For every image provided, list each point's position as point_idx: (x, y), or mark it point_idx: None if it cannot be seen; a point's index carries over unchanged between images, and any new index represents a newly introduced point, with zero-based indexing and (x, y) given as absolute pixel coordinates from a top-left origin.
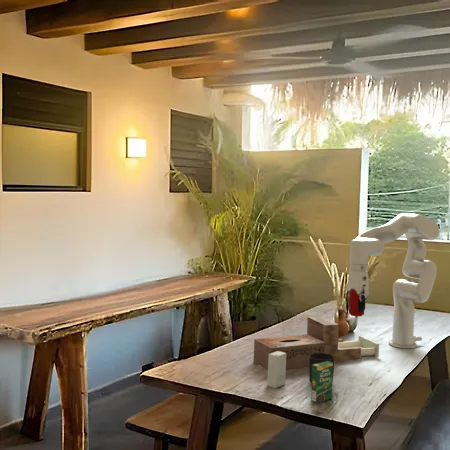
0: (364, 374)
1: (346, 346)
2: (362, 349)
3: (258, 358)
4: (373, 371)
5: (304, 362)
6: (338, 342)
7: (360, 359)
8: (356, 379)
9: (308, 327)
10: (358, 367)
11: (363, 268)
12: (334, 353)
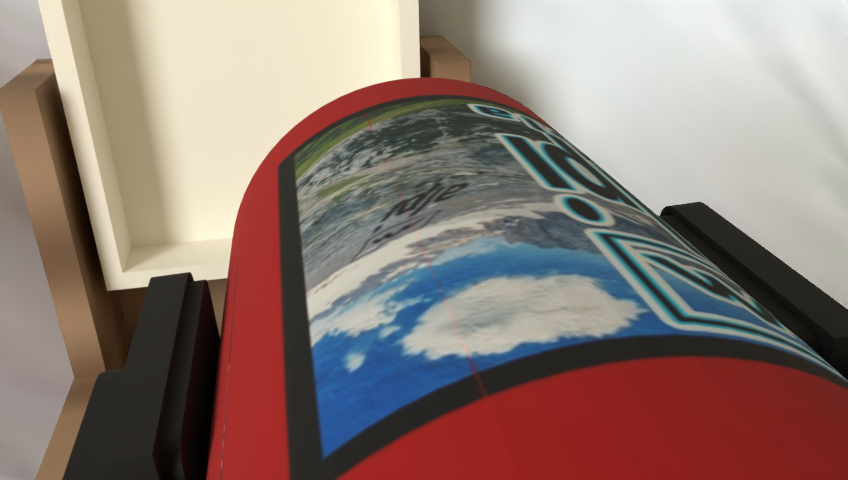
0: (784, 200)
1: (83, 36)
2: (416, 5)
3: None
4: (760, 93)
5: None
6: (96, 166)
7: (442, 36)
8: (836, 299)
9: None
10: (633, 167)
11: None
12: None
